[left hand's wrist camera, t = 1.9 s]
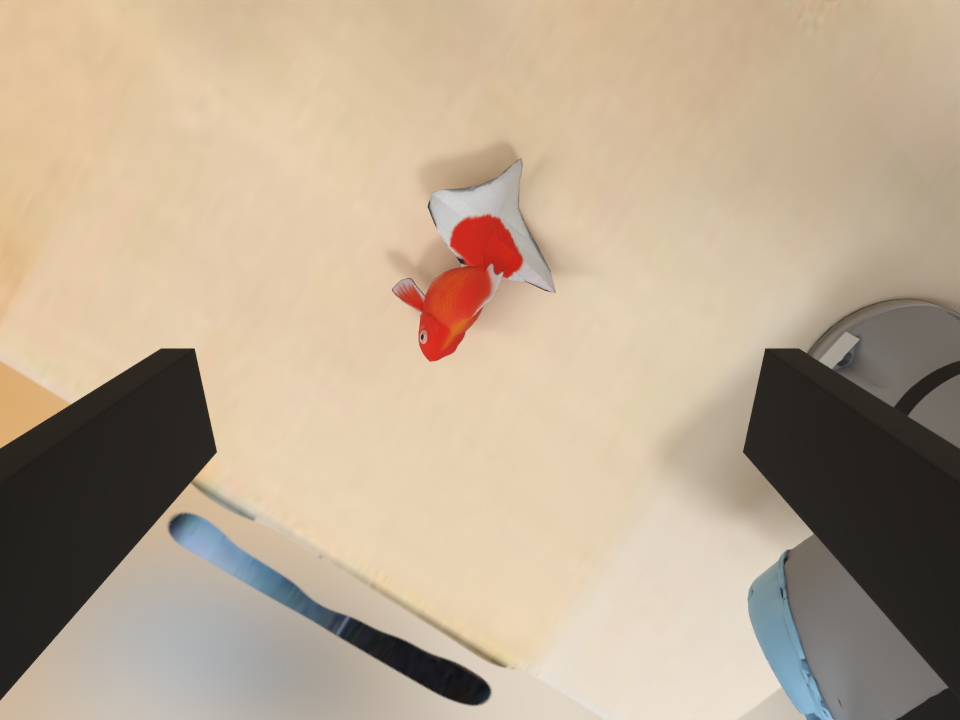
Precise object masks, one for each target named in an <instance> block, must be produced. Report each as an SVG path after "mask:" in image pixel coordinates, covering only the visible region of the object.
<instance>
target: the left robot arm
mask: <svg viewBox="0 0 960 720" xmlns="http://www.w3.org/2000/svg"><path fill="white" fill-rule="evenodd" d="M216 453H217V450H216V446H215V441H214V436H213V432H212V427H211V422H210V418H209V413H208V408H207V404H206V399H205V395H204V390H203V385H202V381H201V376H200V371H199V367H198V362H197V357H196V353H195V349H160V350H158V351H157V352H155V353H153V354H152V355H150V356H148V357H147V358H145V359H144V360H142V361H140V362H139V363H137V364H136V365H134V366H132V367H131V368H129V369H128V370H126V371H124V372H123V373H121V374H119V375H118V376H116V377H115V378H113V379H111V380H110V381H108V382H107V383H105V384H103V385H102V386H100V387H99V388H97V389H95V390H94V391H92V392H91V393H89V394H87V395H86V396H84V397H82V398H81V399H79V400H78V401H76V402H74V403H73V404H71V405H70V406H68V407H66V408H65V409H63V410H62V411H60V412H58V413H57V414H55V415H53V416H52V417H50V418H49V419H47V420H45V421H44V422H42V423H41V424H39V425H38V426H36V427H34V428H33V429H31V430H29V431H28V432H26V433H25V434H23V435H21V436H20V437H18V438H16V439H15V440H13V441H12V442H10V443H8V444H7V445H5V446H4V447H2V448H0V700H1V699H2V698H3V697H4V696H5V694H6V693H7V692H8V691H9V690H10V689H11V688H12V686H13V685H14V684H15V683H16V682H17V681H18V679H19V678H20V677H21V676H22V675H23V674H24V673H25V671H26V670H27V669H28V668H29V667H30V666H31V665H32V663H33V662H34V661H35V660H36V659H37V658H38V657H39V655H40V654H41V653H42V652H43V651H44V650H45V649H46V647H47V646H48V645H49V644H50V643H51V642H52V641H53V639H54V638H55V637H56V636H57V635H58V634H59V632H60V631H61V630H62V629H63V628H64V627H65V626H66V624H67V623H68V622H69V621H70V620H71V619H72V618H73V616H74V615H75V614H76V613H77V612H78V611H79V610H80V608H81V607H82V606H83V605H84V604H85V603H86V602H87V600H88V599H89V598H90V597H91V596H92V595H93V593H94V592H95V591H96V590H97V589H98V588H99V587H100V585H101V584H102V583H103V582H104V581H105V580H106V579H107V577H108V576H109V575H110V574H111V573H112V572H113V571H114V569H115V568H116V567H117V566H118V565H119V564H120V563H121V561H122V560H123V559H124V558H125V557H126V556H127V555H128V553H129V552H130V551H131V550H132V549H133V548H134V546H135V545H136V544H137V543H138V542H139V541H140V540H141V538H142V537H143V536H144V535H145V534H146V533H147V532H148V530H149V529H150V528H151V527H152V526H153V525H154V524H155V522H156V521H157V520H158V519H159V518H160V517H161V516H162V514H163V513H164V512H165V511H166V510H167V509H168V508H169V506H170V505H171V504H172V503H173V502H174V501H175V500H176V498H177V497H178V496H179V495H180V494H181V493H182V491H183V490H184V489H185V488H186V487H187V486H188V485H189V483H190V482H191V481H192V480H193V479H194V478H195V477H196V475H197V474H198V473H199V472H200V471H201V470H202V469H203V467H204V466H205V465H206V464H207V463H208V462H209V461H210V459H211V458H212V457H213V456H214V455H215V454H216ZM743 453H744V454H745V455H746V456H747V457H748V458H749V459H750V461H751V462H752V463H753V464H754V465H755V466H756V467H757V469H758V470H759V471H760V472H761V473H762V474H763V475H764V477H765V478H766V479H767V480H768V481H769V482H770V483H771V485H772V486H773V487H774V488H775V489H776V490H777V492H778V493H779V494H780V495H781V496H782V497H783V498H784V500H785V501H786V502H787V503H788V504H789V505H790V506H791V508H792V509H793V510H794V511H795V512H796V513H797V514H798V516H799V517H800V518H801V519H802V520H803V521H804V522H805V524H806V525H807V526H808V527H809V528H810V529H811V530H812V532H813V533H814V534H813V535H812V536H810V537H809V538H808V539H806V540H805V541H803V542H802V543H800V544H799V545H798V546H796V547H795V548H793V549H791V550H786V551H785V552H784V553H783V554H782V555H781V556H780V558H779V561H777V562H776V563H775V564H774V565H773V566H771V567H770V568H769V569H768V570H766V571H765V572H764V573H763V574H761V575H760V576H759V577H758V578H757V579H756V580H755V581H754V582H753V583H752V585H751V587H750V589H749V594H748V609H749V610H748V611H749V616H750V620H751V623H752V626H753V629H754V632H755V635H756V637H757V640H758V642H759V644H760V647H761V649H762V651H763V653H764V655H765V657H766V659H767V661H768V663H769V665H770V667H771V668H772V670H773V672H774V674H775V676H776V677H777V679H778V681H779V682H780V684H781V686H782V687H783V689H784V691H785V692H786V694H787V695H788V697H789V698H790V700H791V701H792V703H793V704H794V706H795V707H796V709H797V710H798V711H799V712H800V713H802V714H805V717H806V719H807V720H960V314H959V313H957V312H954V311H952V310H950V309H947V308H944V307H941V306H938V305H935V304H932V303H929V302H925V301H920V300H910V299H904V300H892V301H886V302H881V303H878V304H874V305H871V306H869V307H866V308H863V309H861V310H859V311H857V312H855V313H853V314H851V315H849V316H848V317H846V318H844V319H843V320H841V321H840V322H838V323H837V324H836V325H835V326H833V327H832V328H831V329H830V330H828V331H827V332H826V333H825V334H824V335H823V336H822V337H821V338H820V339H819V340H818V341H817V343H816V344H815V345H814V346H813V348H812V349H811V350H810V352H809V353H808V354H807V353H805V352H803V351H802V350H800V349H765V353H764V357H763V362H762V367H761V371H760V376H759V381H758V385H757V390H756V395H755V399H754V404H753V408H752V413H751V418H750V422H749V427H748V432H747V436H746V441H745V446H744V450H743Z"/></svg>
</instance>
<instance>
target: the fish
mask: <svg viewBox="0 0 960 720" xmlns="http://www.w3.org/2000/svg"><path fill="white" fill-rule="evenodd" d="M522 166H523V165H522V159H519V160H517V161H516V162H515V163H514V164H513V165H511V166H510V167H509V168H508V169H507V170H506V171H504V172H503V173H502V174H501V175H500V176H499V177H498V178H495V179H493V180H491V181H489V182H486V183H484V184H481V185H477V186H473V187H468V188H463V189H446V190H441V191H437V192H432V193H431V197H430V200H429V204H428V209H429V211H430V214H431V216H432V219H433V221H434V224H435V226H436V228H437V230H438V231H439V233H440V235H441V237H442V238H443V240H444V241H445V243H446V244H447V245H448V247H449V248H450V250H451V251H452V252H453V254H454V255H455V256H456V257H457V259H458V260H459V261H460V263H461V267H460V268H455V269H452V270H449V271H446V272H444V273H443V274H441V275H440V276H439V277H437V278H436V279H435V280H434V281H433V283H432V284H431V285H430V287H429V289H428V291H427V293H426V296H425V295H424V294H423V293H422V292H421V291H420V290H419V288H418V287H417V286H416V284H415V283H414V281H413V280H412V279H411V278H407V279H403V280H401V281H400V282H398V283H397V284H396V285H395V286H394V288H393V289H392V291H393V292H394V294H395V295H396V296H397V297H399V298H400V299H401V300H402V301H403V302H405V303H406V304H408V305H410V306H411V307H413V308H415V309H417V310H418V311H420V312H422V314H421V316H420V327H419V345H420V348H421V350H422V352H423V354H424V355H425V357H426V358H427V359H428V360H429V361H437V360H439V359H441V358H443V357H445V356H447V355H450V354H452V353H454V352H455V350H456V348H457V346H458V345H459V343H460V342H461V341H462V340H463V338H464V335H465V332H466V331H467V329H468V328H469V327H471V325H472V324H473V323H474V322H475V321H476V320H477V318H478V316H479V315H480V313H481V311H482V309H483V306H484V305H485V304H486V303H487V302H489V301H490V300H491V299H492V298H493V296H494V294H495V292H496V291H497V289H498V286H499V284H500V281H501V279H502V280H511V281H519V282H528V283H530V284H532V285H534V286H536V287H538V288H540V289H543V290H545V291H549V292H552V293H556V292H555V288H554V284H553V280H552V276H551V272H550V269H549V267H548V265H547V264H546V262H545V260H544V258H543V256H542V254H541V252H540V250H539V248H538V246H537V244H536V243H535V241H534V239H533V237H532V235H531V234H530V232H529V230H528V228H527V226H526V224H525V222H524V219H523V217H522V215H521V213H520V210H519V181H520V177H521V172H522Z"/></svg>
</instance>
